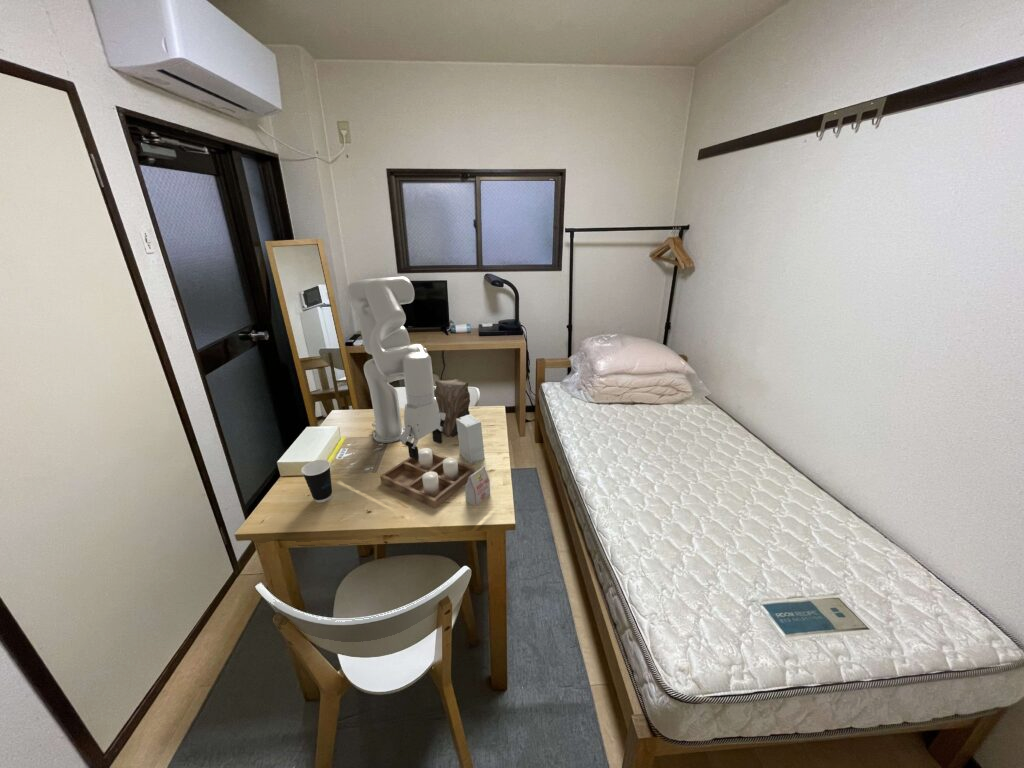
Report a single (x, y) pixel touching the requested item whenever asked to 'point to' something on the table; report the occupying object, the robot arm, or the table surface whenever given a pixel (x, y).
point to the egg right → (450, 468)
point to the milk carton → (477, 487)
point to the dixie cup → (318, 479)
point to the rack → (411, 484)
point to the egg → (431, 484)
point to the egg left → (425, 458)
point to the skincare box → (470, 438)
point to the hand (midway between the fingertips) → (426, 449)
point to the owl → (452, 403)
